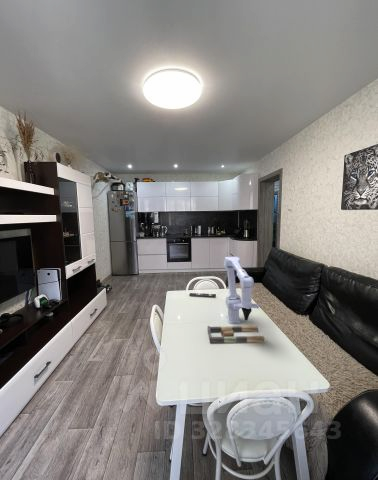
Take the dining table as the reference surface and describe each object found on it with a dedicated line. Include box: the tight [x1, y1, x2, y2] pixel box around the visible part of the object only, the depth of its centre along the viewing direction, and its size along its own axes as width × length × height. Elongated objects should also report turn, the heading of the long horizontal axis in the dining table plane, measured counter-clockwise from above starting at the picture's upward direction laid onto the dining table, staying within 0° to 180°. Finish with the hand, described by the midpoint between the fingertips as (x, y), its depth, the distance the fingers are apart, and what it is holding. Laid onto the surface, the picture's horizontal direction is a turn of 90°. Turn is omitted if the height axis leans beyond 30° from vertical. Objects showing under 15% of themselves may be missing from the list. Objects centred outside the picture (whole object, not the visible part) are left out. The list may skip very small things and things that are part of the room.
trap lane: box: [207, 325, 265, 344], centre depth 128 cm, size 13×31×3 cm, turn 91°
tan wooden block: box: [220, 326, 235, 337], centre depth 127 cm, size 6×6×4 cm
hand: (245, 319), depth 127 cm, fingers closed
